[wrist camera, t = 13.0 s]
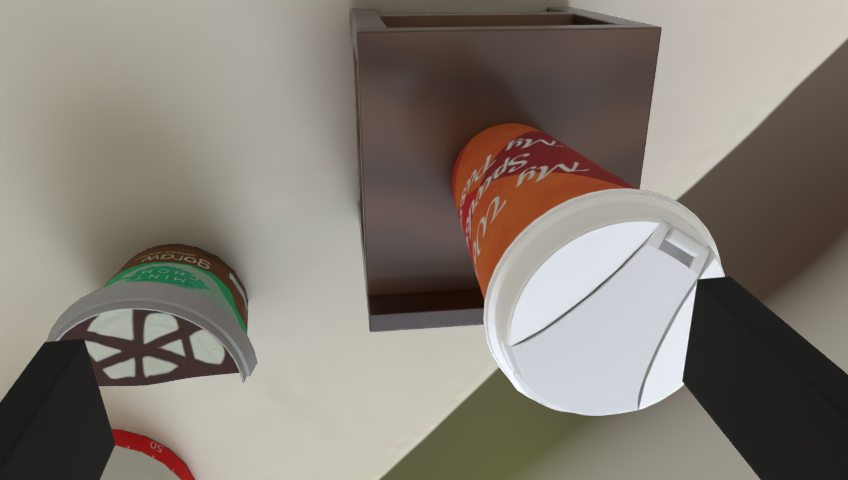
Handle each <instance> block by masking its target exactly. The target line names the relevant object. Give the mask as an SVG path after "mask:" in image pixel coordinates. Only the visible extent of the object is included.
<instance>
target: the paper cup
mask: <svg viewBox="0 0 848 480" xmlns="http://www.w3.org/2000/svg"><path fill="white" fill-rule="evenodd" d="M452 192H453V197H454V202H455V206H456V209H457V213H458V217H459V220H460V223H461V227H462V230H463V233H464V237H465V240H466V243H467V246H468V250H469V253H470V256H471V259H472V263H473V266H474V269H475V272H476V275H477V278H478V282H479V285H480V288H481V291H482V294H483V298H484V317H483V320H484V328H485V336H486V339H487V342H488V345H489V348H490V351H491V353H492V355H493V357H494V359H495V361H496V362H497V364H498V366H499V367H500V368H501V370H502V371H503V372H504V373H505V374H506V376H507V377H508V378H509V379H510V381H511V382H512V384H513V385H514V387H515V388H516V389H517V391H519V392H521V393H523V394H524V395H526V396H527V397H529V398H531V399H533V400H535V401H537V402H538V403H541V404H543V405H545V406H547V407H549V408H552V409H555V410H558V411H563V412H573V413H577V414H582V415H594V416H602V415H610V414H619V413H624V412H630V411H636V410H640V409H643V408H646V407H648V406H650V405H652V404H655V403H657V402H659V401H661V400H662V399H664V398H666V397H667V396H669V395H670V394H672V393H674V392H675V391H677V390H678V389H679V388H680V387H681V386H683V385H684V383H683V382H682V379H683V372H684V365H685V359H686V352H687V345H688V339H689V332H690V325H691V319H692V312H693V305H694V299H695V292H696V285H697V279H707V278H717V277H725V275H724V272H723V269H722V266H721V263H720V257H719V254H718V251H717V248H716V245H715V242H714V240H713V238H712V237H711V235H710V233H709V231H708V229H707V228H706V227H705V226H704V224H703V223H702V222H701V221H700V220H699V218H698V217H697V216H696V215H695V214H693V213H692V212H691V211H689V210H688V209H687V208H686V207H685V206H683V205H682V204H680V203H678V202H676V201H674V200H672V199H671V198H669V197H667V196H664V195H661V194H657V193H654V192H651V191H646V190H639V189H637V188H635V187H634V186H632V185H630V184H629V183H627V182H626V181H624V180H623V179H621V178H620V177H618V176H616V175H614V174H613V173H611V172H609V171H607V170H606V169H604V168H602V167H601V166H599V165H597V164H596V163H594V162H593V161H591V160H589V159H588V158H586V157H584V156H583V155H581V154H579V153H578V152H576V151H575V150H573V149H571V148H570V147H568V146H566V145H565V144H563V143H561V142H560V141H558V140H556V139H555V138H553V137H551V136H549V135H547V134H546V133H544V132H542V131H540V130H538V129H536V128H533V127H530V126H527V125H523V124H516V123H508V124H500V125H496V126H493V127H490V128H488V129H486V130H484V131H482V132H480V133H479V134H477V135H476V136H475V137H473V138H472V139H471V140H470V141H469V142H468V143H467V144H466V145H465V147H464V148H463V149H462V151H461V152H460V154H459V156H458V158H457V160H456V162H455V165H454V169H453V174H452Z"/></svg>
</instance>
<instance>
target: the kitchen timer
mask: <svg viewBox="0 0 848 480" xmlns="http://www.w3.org/2000/svg"><path fill="white" fill-rule="evenodd" d="M112 433H113V437H114V440H115V447H114V449H113V451H112V453H111V456H110V458H109V460H108V462H107V465H106V467H105V469H104V472H103V474H102V476H101V478H100V480H194V478H193V476H192V474H191V473H190V471H189V469H188V467H187V466H186V464H185V463H184V462H183V461H182V460H180V459H179V458H178V457H177V456H176V455H175V454H174V453H173V452H172V451H171V450H170V449H168V448H166V447H165V446H163V445H161V444H159V443H157V442H155V441H153V440H151V439H149V438H147V437H145V436H141V435H137V434H133V433H129V432H126V431H122V430H112Z"/></svg>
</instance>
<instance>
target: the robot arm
mask: <svg viewBox="0 0 848 480" xmlns="http://www.w3.org/2000/svg"><path fill="white" fill-rule="evenodd" d="M682 382H683V383H684V384H685V385H686V386H687V388H688V389H689V390H690V392H691V393H692V394H693V395H694V396H695V398H696V399H697V400H698V402H699V403H700V404H701V405H702V407H703V408H704V409H705V410H706V412H707V413H708V414H709V415H710V416H711V418H712V419H713V420H714V421H715V423H716V424H717V425H718V427H719V428H720V429H721V430H722V432H723V433H724V434H725V435H726V437H727V438H728V439H729V440H730V442H732V444H733V445H734V446H735V448H736V449H737V450H738V452H739V453H740V454H741V455H742V457H743V458H744V459H745V460H746V462H747V463H748V464H749V465H750V467H751V468H752V469H753V470H754V472H755V473H756V474H757V475H758V477H759V478H760V479H761V480H848V375H847V374H846V373H845V372H844V371H843V370H842V369H840V368H839V367H838V366H837V365H836V364H834V363H833V362H832V361H831V360H830V359H828V358H827V357H826V356H825V355H824V354H822V353H821V352H820V351H819V350H818V349H816V348H815V347H814V346H813V345H812V344H810V343H809V342H808V341H807V340H806V339H804V338H803V337H802V336H801V335H800V334H798V333H797V332H796V331H795V330H794V329H792V328H791V327H790V326H789V325H788V324H786V323H785V322H784V321H783V320H782V319H781V318H779V317H778V316H777V315H776V314H774V313H773V312H772V311H771V310H770V309H769V308H767V307H766V306H765V305H764V304H762V303H761V302H760V301H759V300H758V299H757V298H755V297H754V296H753V295H752V294H750V293H749V292H748V291H747V290H746V289H745V288H743V287H742V286H741V285H740V284H738V283H737V282H736V281H735V280H734V279H733V278H731V277H730V276H728V277H717V278H707V279H697V285H696V292H695V299H694V305H693V312H692V319H691V325H690V332H689V339H688V345H687V352H686V359H685V365H684V372H683V379H682ZM114 447H115V440H114V437H113V433H112V430H111V427H110V423H109V420H108V417H107V413H106V410H105V407H104V403H103V400H102V397H101V393H100V390H99V387H98V383H97V380H96V376H95V373H94V370H93V366H92V363H91V360H90V356H89V353H88V350H87V346H86V343H85V340H84V338H82V339H71V340H61V341H50V342H44V344H43V345H42V346H41V348H40V349H39V351H38V352H37V353H36V355H35V356H34V357H33V359H32V360H31V361H30V363H29V364H28V365H27V367H26V368H25V370H24V371H23V372H22V374H21V375H20V376H19V378H18V379H17V380H16V382H15V383H14V384H13V386H12V387H11V389H10V390H9V391H8V393H7V394H6V395H5V397H4V398H3V399H2V401H1V402H0V480H100V478H101V476H102V474H103V472H104V469H105V467H106V465H107V462H108V460H109V458H110V456H111V453H112V451H113V449H114Z"/></svg>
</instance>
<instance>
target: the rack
mask: <svg viewBox="0 0 848 480" xmlns="http://www.w3.org/2000/svg"><path fill="white" fill-rule="evenodd" d="M350 22H351V35H352V40H353V61H354V84H355V107H356V130H357V153H358V177H359V201H358V204H359V223H360V234H361V244H362V255H363V265H364V276H365V286H366V297H367V307H368V318H369V328H370V332H378V331H393V330H408V329H423V328H438V327H453V326H468V325H483V324H484V320H483V317H484V298H483V294H482V291H481V288H480V285H479V282H478V278H477V275H476V272H475V269H474V266H473V263H472V259H471V256H470V253H469V250H468V246H467V243H466V240H465V237H464V233H463V230H462V227H461V223H460V220H459V217H458V213H457V209H456V206H455V202H454V197H453V192H452V174H453V169H454V165H455V162H456V160H457V158H458V156H459V154H460V152H461V151H462V149H463V148H464V147H465V145H466V144H467V143H468V142H469V141H470V140H471V139H472V138H473V137H475V136H476V135H477V134H479V133H480V132H482V131H484V130H486V129H488V128H490V127H493V126H496V125H500V124H508V123H516V124H523V125H527V126H530V127H533V128H536V129H538V130H540V131H542V132H544V133H546V134H547V135H549V136H551V137H553V138H555V139H556V140H558V141H560V142H561V143H563V144H565V145H566V146H568V147H570V148H571V149H573V150H575V151H576V152H578V153H579V154H581V155H583V156H584V157H586V158H588V159H589V160H591V161H593V162H594V163H596V164H597V165H599V166H601V167H602V168H604V169H606V170H607V171H609V172H611V173H613V174H614V175H616V176H618V177H620V178H621V179H623V180H624V181H626V182H627V183H629V184H630V185H632V186H634V187H635V188H637V189H640V181H641V174H642V167H643V159H644V152H645V145H646V138H647V130H648V123H649V116H650V108H651V101H652V94H653V87H654V79H655V72H656V65H657V57H658V50H659V43H660V36H661V27H658V26H653V25H649V24H644V23H640V22H635V21H631V20H626V19H622V18H617V17H613V16H608V15H604V14H599V13H595V12H590V11H586V10H581V9H577V8H572V7H548V9H547V12H521V13H437V14H377V13H376V11H375V10H374V9H351V10H350Z"/></svg>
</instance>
